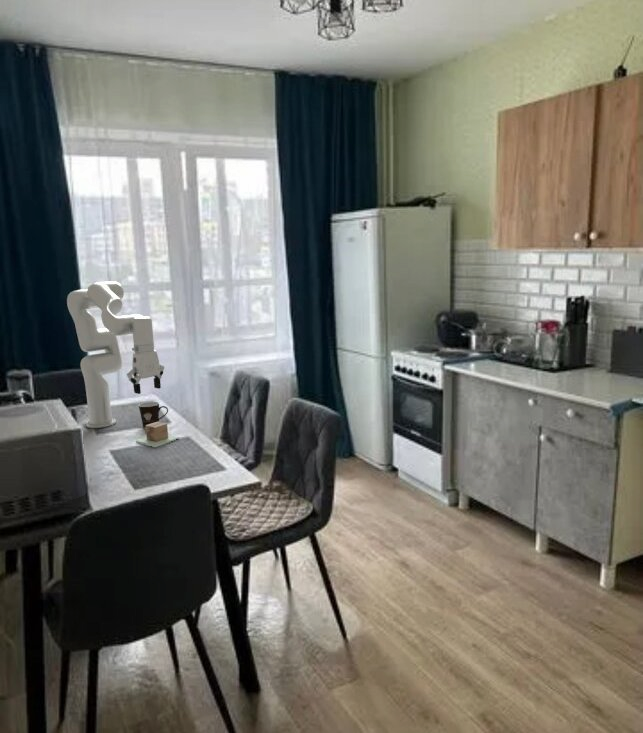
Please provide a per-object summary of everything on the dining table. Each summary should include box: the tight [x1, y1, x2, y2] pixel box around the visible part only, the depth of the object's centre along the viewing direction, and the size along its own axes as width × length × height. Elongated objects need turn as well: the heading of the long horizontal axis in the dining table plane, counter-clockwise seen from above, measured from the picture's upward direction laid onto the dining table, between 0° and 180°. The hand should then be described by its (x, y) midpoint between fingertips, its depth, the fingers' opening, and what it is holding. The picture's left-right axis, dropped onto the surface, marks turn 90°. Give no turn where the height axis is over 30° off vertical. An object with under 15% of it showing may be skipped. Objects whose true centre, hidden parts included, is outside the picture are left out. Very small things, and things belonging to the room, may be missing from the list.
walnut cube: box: [145, 421, 169, 442], centre depth 238 cm, size 6×6×6 cm
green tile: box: [135, 434, 180, 448], centre depth 239 cm, size 12×12×1 cm
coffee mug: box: [138, 401, 169, 429], centre depth 258 cm, size 12×9×10 cm
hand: (147, 390), depth 235 cm, fingers open, 9 cm apart
